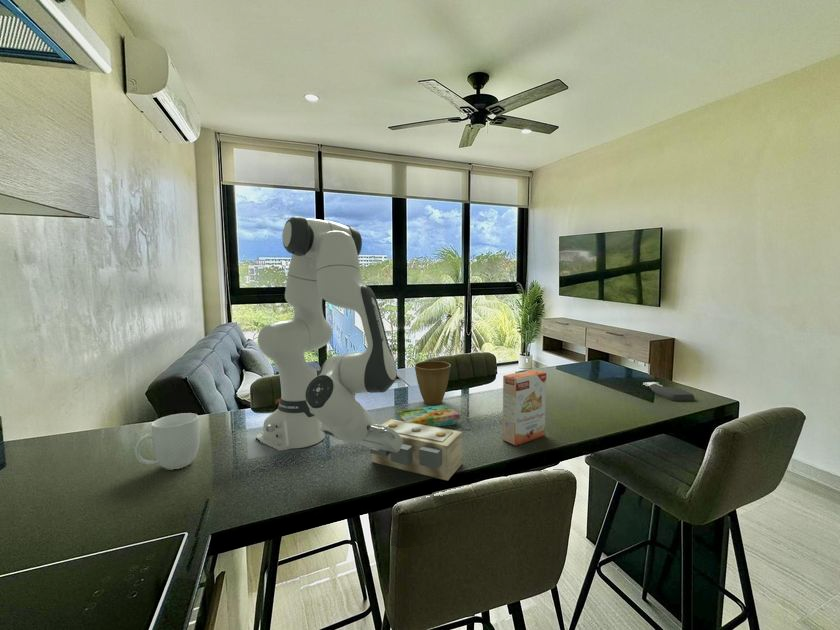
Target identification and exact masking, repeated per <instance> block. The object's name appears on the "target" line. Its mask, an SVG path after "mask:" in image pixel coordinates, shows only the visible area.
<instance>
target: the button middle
mask: <svg viewBox="0 0 840 630" xmlns="http://www.w3.org/2000/svg"><path fill="white" fill-rule="evenodd" d="M391 461H392V462H396V463H400V464H404V465H409V464H410V463H411V462H412V461H413V458H412V446H409V445H405V444H402V446H401V448H400V450H399V452H397V453H394V452H391Z"/></svg>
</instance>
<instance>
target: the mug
mask: <svg viewBox="0 0 840 630" xmlns="http://www.w3.org/2000/svg"><path fill="white" fill-rule="evenodd" d="M199 420H200V419H199V415H198V414H197V413H192V412H187V413H185V412H184V413H183V412H181V413H176V414H169V415H166V416H162V417H160V418H157V419H155V420H154V421H152V423H151V425H150V426H151V432H150V433H146V434H144V435H142V436H141V437H140V438H139V439H138V441H137V442H136V443H135V444H136V445H135V448H134V455H135V457H136V459H137V461H138V462H139V463H141V464H144V465H149V466H150V465H160V466H161V467H162V468H163V467H165V468H175V467H181V466H184V465H187V464H189V463H190V462H192V461H193V460H195V458H196V456H197V454H198V451H199V447H200V433H201V432H200V423H199ZM146 439H147V440H148V439H151V440H152V445H153V451H154V452H153V453H154V454H155V458H156V459H154V460H148V459H145V458H143V456H142V455H141V453H140V447H141V444H142V443H143V442H144V441H145V440H146ZM193 462H194V461H193ZM193 462H192V463H193Z"/></svg>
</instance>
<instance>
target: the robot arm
mask: <svg viewBox="0 0 840 630" xmlns="http://www.w3.org/2000/svg"><path fill="white" fill-rule="evenodd" d="M281 233H282V234H281V235H282V245H283V248H284V249H285V250H286V252H288V253H289V254H291V258H290V262H289V266H288V271H287V278H286V284H285V291H284V299H285V302H287V303H288V305H289V306H290V307H292V308H293V313H294V315H293V319H285V320H276V321H275V322H272V323H268V324H266V325H264V326H263V327H262V328H261V329H260V330H259V333H258V336H257V344H258V348H259V350H260V351H261V353H262V354H263V355H265V356H266V357H267V358H269V359H271V361H272V362H273V363H274V365H275V367H276V369H277V371H278V374H279V379H280V382H279V383H280V392H281V393H280V395H281V396H280V398H277V399H275V401H276V402H275V404H277V403H278V404H277V405H278V406H277V409H276V410H274V411H273V412H272V413H271V414H269V415H268V416H267V417H266V418H265V419H264V422H263V427H262V429H263V430H262V431H260V432H259V433H258V434H257V435H256V436H255V439H256V438H257V439H259V440H261V441H262V442H264V443H266V444H267V445H266V444H265V445H266V446H268V445H269V447H270V446H271V448H272V447H273V448H272V449H274V448H275V450H276V449H277V450H276V451H287V450H291V449H301V448H307V447H311V446H313V445H316V444H318V443H320V442H322V440H324V439H325V437H326V436H325V434H326V435H329V436H330V437H331V438H333V439H335V440H338V441H341V442H343V443H344V444H348V445H354V444H356V445H360V446H365V447H367V448H368V449H369V450H370V449H372V450H376V451H380V449H381V450H386V451H390V452H394V453H397V452H399V450H400V448H401V446H402V443H403V439H402V437H401V436H400V435H399V434H397V433H396V432H395V431H394V430H393V429H391V428H389V427H387V426H383V425H381V424H377V423H376V424H375V423H373V421H372V419H373V418H372V415H371V414H370V413H369V412H368V411H367V410H366V409H365V407H364V406H363V405H362V404H361V403H360V402H359V401H357V400H356V398H355V397H356V395H357V394H364V393H371V394H372V393H373V394H374V393H375V394H377V393H380V394H381V393H386V392H387V391H388V390H389V389H390V388H391V387H392V386H393V384H394V383H395V382H396V379H397V376H398V370H397V369H398V368H397V366H396V361H395V358H394V356H393V353H392V350H391V348H390V344H389V342H388V337H387V334H386V329H385V326H384V322H383V318H382V314H381V311H380V307H379V303H378V300H377V297H376V295H375V292H374V291H373V290H372V288H371V287H370V286H367V285H365V283H364V282H363V279H362V276H361V268H360V267H361V266H360V265H361V264H360V259H359V255H360V253H361V251H362V247H363V240H362V235H361V233H360V232H359V230H358V229H356V228H354V227H353V226H350V225H347V224H346V225H344V224H342V223H338V222H335V221H331V220H328V219H327V220H326V219H325V220H323V219H317V218H308V217H307V218H306V217H305V216H291V217H289V218H288V219H287V221H286V222H285V224H284V227H283V228H282V232H281ZM323 300H324V301H325V302H326V303H328V304H330V305H333V306H335V307H338V308H341V309H347V310H351V311H353V312H356V313H357V314H358V316H359V317H360V320H361V323H362V328H363V332H364V335H365V336H364V337H365V340H366V344H367V348H366V350H364V351H360V352H355V353H354V352H353V353H344V354H339V355H334V356H330V357H328V358H327V359H325V360H324V362H323V363H322V365H321V367H320V369H319V371H318V373H317V370H316V369H315V368H314V367H313V366H311V365H309V364H307V361H306V359H305V353H309V352H313V351H316V350H319V349H321V348H323V347H325V346H326V345H328V344H329V343H330V342H331V339H332V336H333V331H332V326H331V325H330V323H329V322H328V321H327V320H326V318H325V316H324V311H323ZM262 442H261V443H262ZM264 443H263V444H264Z"/></svg>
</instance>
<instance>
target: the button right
mask: <svg viewBox="0 0 840 630" xmlns="http://www.w3.org/2000/svg"><path fill="white" fill-rule="evenodd" d="M419 464H420V465H423V466H427V467H431V468H436V469H438V468H439V467H440V466H441V465H442V449H438V448H433V447H429V446H423V447H421V448H420V449H419Z"/></svg>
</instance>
